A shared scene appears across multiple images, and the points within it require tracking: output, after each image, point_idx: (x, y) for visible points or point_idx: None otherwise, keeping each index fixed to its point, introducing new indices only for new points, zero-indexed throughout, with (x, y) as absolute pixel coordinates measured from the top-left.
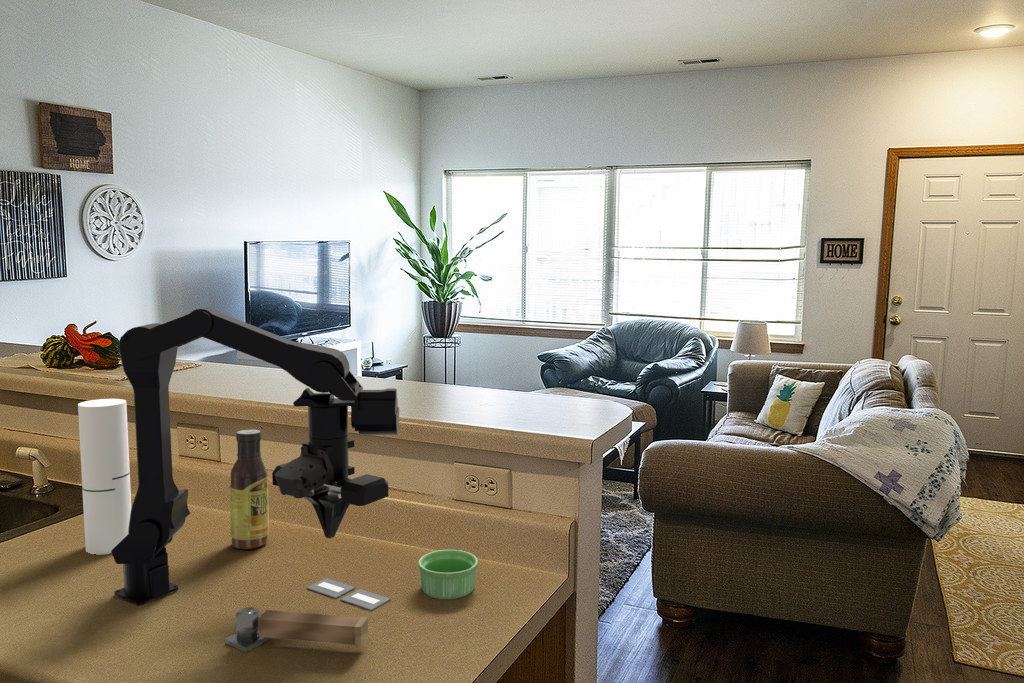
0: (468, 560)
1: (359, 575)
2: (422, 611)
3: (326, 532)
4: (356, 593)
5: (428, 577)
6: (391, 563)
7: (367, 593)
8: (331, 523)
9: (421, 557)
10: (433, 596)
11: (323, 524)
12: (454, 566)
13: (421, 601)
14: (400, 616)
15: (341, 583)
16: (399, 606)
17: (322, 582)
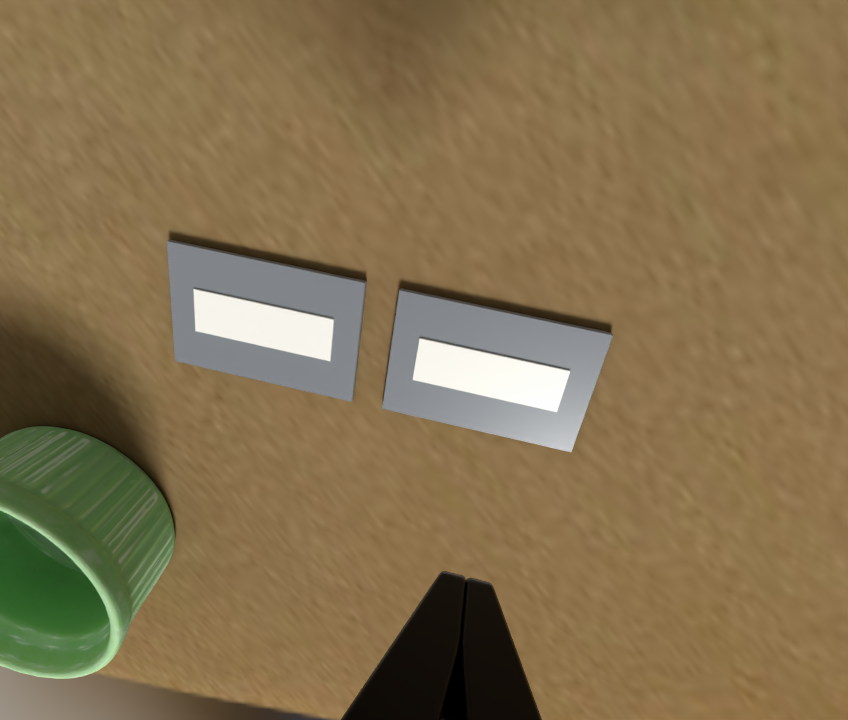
0: (4, 627)
1: (448, 515)
2: (11, 316)
3: (462, 617)
4: (335, 358)
5: (10, 476)
6: (395, 624)
7: (291, 373)
8: (347, 710)
9: (105, 599)
10: (58, 428)
11: (482, 701)
12: (92, 607)
13: (78, 388)
14: (40, 243)
15: (464, 422)
16: (111, 322)
17: (562, 406)
